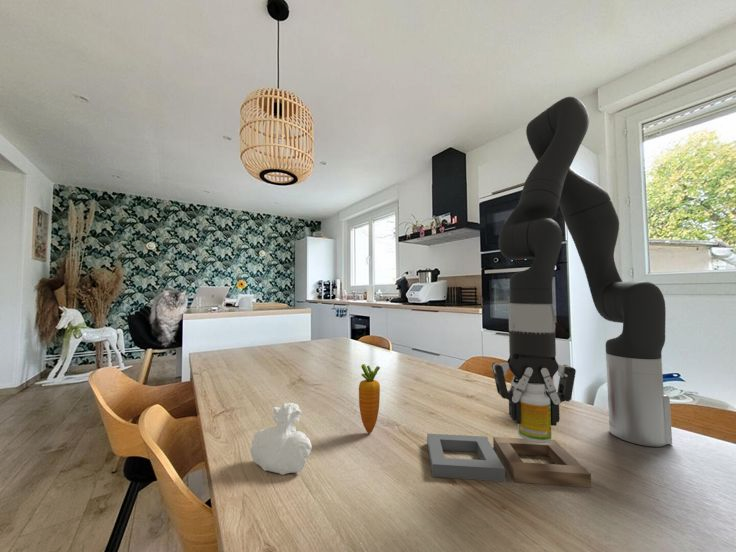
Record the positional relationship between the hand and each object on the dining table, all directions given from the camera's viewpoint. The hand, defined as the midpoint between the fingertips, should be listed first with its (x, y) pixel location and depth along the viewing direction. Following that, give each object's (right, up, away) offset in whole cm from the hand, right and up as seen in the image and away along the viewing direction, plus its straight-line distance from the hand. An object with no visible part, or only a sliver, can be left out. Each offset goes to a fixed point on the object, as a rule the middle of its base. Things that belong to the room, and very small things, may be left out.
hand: (533, 422), depth 56 cm
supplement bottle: (0, -3, 0) cm, 3 cm away
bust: (-45, -7, -1) cm, 46 cm away
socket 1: (-13, -7, +1) cm, 15 cm away
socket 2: (0, -7, -1) cm, 7 cm away
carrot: (-30, -8, +12) cm, 33 cm away
